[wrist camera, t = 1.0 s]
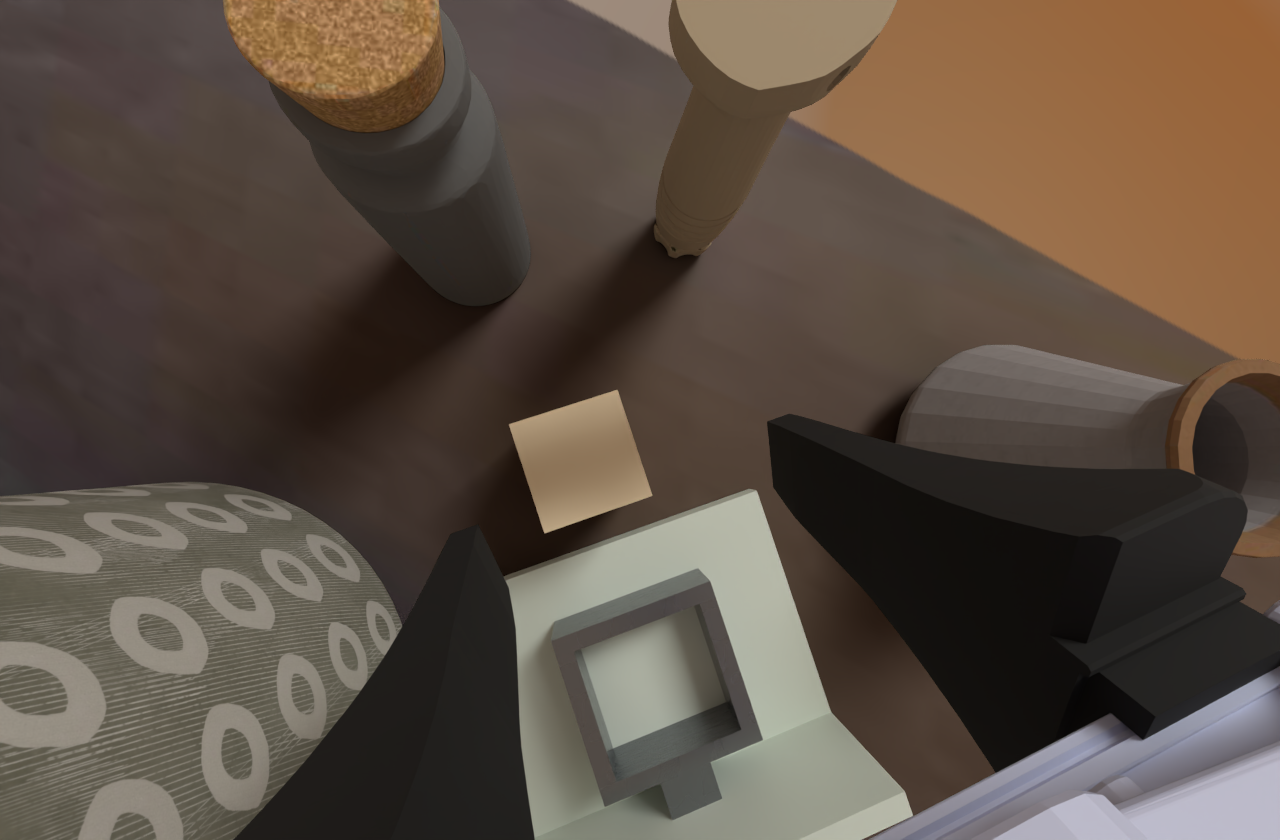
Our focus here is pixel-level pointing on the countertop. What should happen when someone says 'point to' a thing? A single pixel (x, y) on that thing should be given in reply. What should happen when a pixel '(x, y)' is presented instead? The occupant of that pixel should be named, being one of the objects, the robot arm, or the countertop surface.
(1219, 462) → the coffee pot
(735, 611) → the mounting board
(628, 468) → the oak post
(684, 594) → the grey square frame
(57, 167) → the countertop surface
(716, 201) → the handle
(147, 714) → the planter
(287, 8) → the bottle
